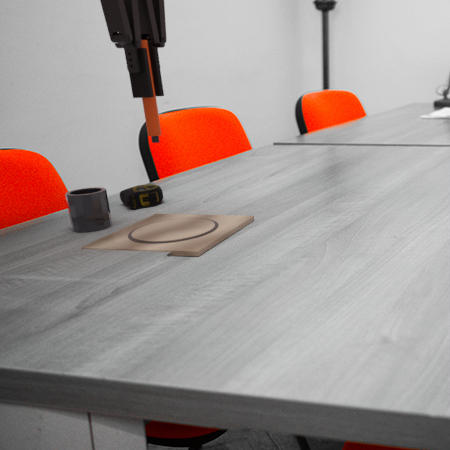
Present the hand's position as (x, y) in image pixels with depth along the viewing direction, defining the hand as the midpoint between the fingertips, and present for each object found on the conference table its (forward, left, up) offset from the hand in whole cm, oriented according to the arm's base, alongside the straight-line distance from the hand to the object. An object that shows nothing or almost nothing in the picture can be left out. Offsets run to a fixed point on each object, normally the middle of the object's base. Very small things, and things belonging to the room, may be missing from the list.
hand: (148, 96), depth 80 cm
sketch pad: (0, +2, -21) cm, 21 cm away
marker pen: (0, 0, -6) cm, 6 cm away
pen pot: (-15, +3, -21) cm, 26 cm away
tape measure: (-16, +17, -21) cm, 32 cm away
